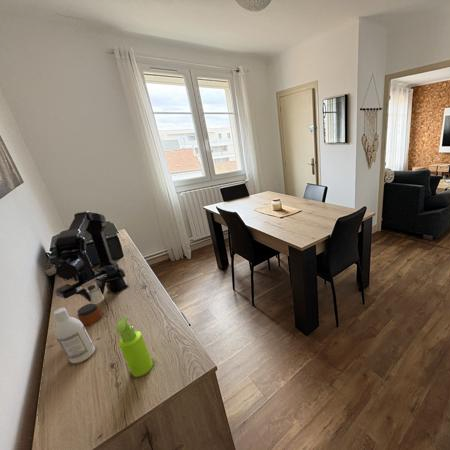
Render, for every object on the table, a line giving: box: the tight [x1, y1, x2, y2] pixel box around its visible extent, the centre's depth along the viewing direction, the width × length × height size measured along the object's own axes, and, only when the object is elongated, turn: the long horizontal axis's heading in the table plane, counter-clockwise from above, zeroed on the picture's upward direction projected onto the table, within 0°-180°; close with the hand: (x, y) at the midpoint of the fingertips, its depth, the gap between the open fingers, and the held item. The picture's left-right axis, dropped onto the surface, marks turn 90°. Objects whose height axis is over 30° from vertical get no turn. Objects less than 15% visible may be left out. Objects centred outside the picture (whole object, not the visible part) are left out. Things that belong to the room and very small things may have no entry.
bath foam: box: [52, 307, 96, 364], centre depth 81 cm, size 7×7×20 cm
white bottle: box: [86, 284, 105, 305], centre depth 98 cm, size 4×4×7 cm
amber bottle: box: [76, 303, 103, 326], centre depth 101 cm, size 7×7×6 cm
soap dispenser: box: [115, 317, 154, 378], centre depth 74 cm, size 6×7×20 cm
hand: (96, 297), depth 99 cm, fingers closed on white bottle, 4 cm apart
